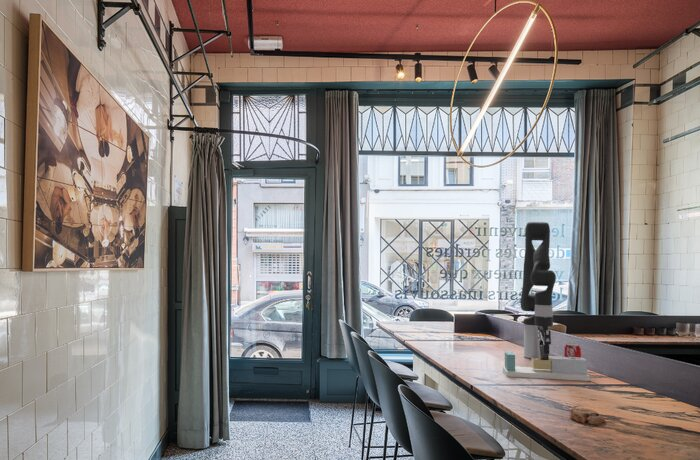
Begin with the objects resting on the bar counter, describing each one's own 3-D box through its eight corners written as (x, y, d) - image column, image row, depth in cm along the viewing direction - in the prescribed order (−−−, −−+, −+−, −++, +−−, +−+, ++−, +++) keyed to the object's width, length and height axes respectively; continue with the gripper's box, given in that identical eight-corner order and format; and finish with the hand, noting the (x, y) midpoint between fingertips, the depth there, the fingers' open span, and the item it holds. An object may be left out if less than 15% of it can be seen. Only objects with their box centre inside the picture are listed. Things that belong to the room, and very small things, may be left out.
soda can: (584, 372, 215) (583, 345, 215) (568, 372, 215) (568, 345, 216) (577, 368, 222) (576, 343, 223) (562, 368, 222) (561, 342, 223)
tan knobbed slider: (531, 366, 210) (531, 344, 211) (580, 369, 207) (580, 346, 207) (533, 368, 206) (533, 345, 207) (583, 371, 203) (582, 347, 203)
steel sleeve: (548, 369, 210) (548, 356, 210) (582, 371, 207) (582, 357, 208) (552, 372, 204) (551, 358, 204) (587, 374, 201) (586, 360, 202)
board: (502, 370, 216) (502, 365, 216) (581, 374, 210) (581, 369, 210) (506, 376, 204) (506, 371, 205) (590, 380, 198) (590, 376, 198)
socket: (504, 366, 214) (504, 351, 215) (512, 367, 214) (512, 351, 214) (507, 370, 206) (507, 354, 207) (515, 371, 206) (515, 355, 206)
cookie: (592, 414, 154) (591, 405, 154) (611, 425, 143) (610, 415, 144) (562, 414, 154) (562, 405, 154) (579, 425, 143) (579, 415, 143)
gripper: (531, 313, 217) (532, 349, 216) (538, 316, 203) (538, 354, 202) (548, 313, 215) (549, 349, 214) (556, 317, 202) (557, 355, 200)
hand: (544, 352), depth 208 cm, fingers open, 8 cm apart
